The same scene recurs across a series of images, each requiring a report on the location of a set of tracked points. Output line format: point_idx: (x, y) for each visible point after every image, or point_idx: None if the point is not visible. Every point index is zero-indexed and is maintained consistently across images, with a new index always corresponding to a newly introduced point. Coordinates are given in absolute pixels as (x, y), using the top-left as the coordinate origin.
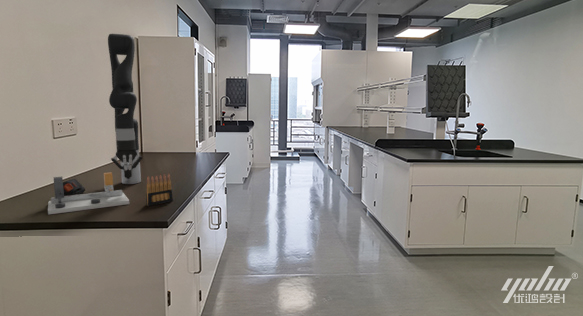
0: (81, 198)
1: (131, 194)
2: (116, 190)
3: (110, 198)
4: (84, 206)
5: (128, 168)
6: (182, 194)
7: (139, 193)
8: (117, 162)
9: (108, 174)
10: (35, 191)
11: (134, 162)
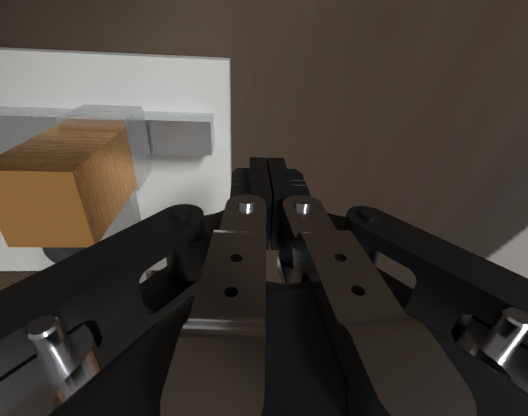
0: None
1: (288, 40)
2: (174, 125)
3: (143, 191)
4: (33, 269)
5: (277, 264)
6: (501, 214)
7: (344, 41)
8: (115, 355)
9: (59, 240)
10: None
11: (409, 262)
